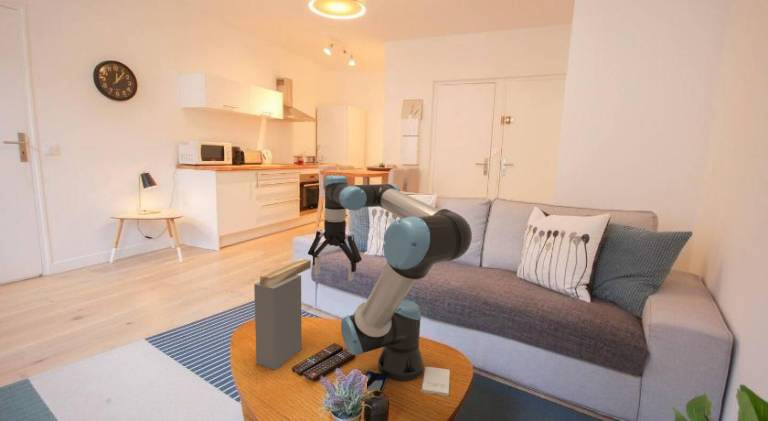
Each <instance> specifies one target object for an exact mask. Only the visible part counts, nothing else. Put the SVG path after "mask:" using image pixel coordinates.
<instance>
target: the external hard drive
mask: <svg viewBox="0 0 768 421" xmlns="http://www.w3.org/2000/svg"><path fill="white" fill-rule="evenodd" d="M423 372H424V373H423V379H422V386H421V393H425V394H430V395H431V394H433V395H435V394H436V395H438V396H442V397H443V396H444V397H445V396H446V397H449V395H450V378H451V376H450V374H451V370H450V369H448V368H447V369H446V368H440V367H434V366H433V367H432V366H424V371H423Z"/></svg>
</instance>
